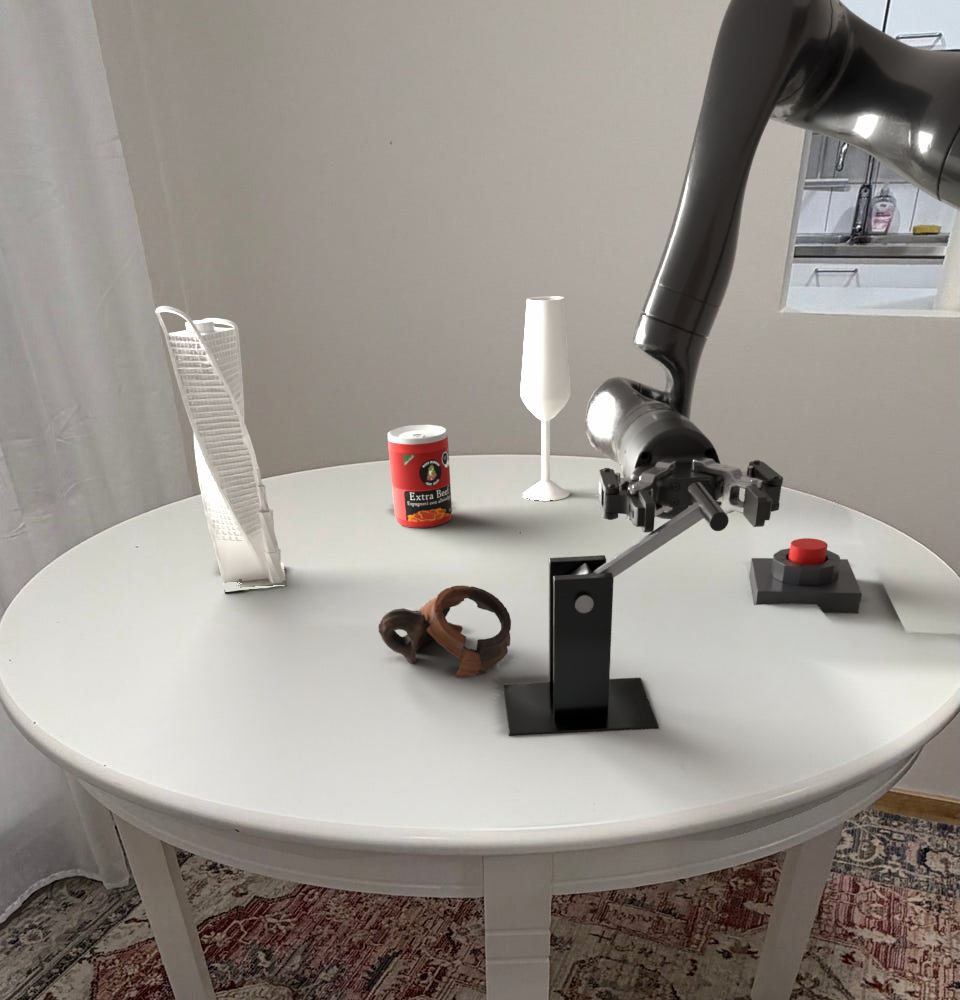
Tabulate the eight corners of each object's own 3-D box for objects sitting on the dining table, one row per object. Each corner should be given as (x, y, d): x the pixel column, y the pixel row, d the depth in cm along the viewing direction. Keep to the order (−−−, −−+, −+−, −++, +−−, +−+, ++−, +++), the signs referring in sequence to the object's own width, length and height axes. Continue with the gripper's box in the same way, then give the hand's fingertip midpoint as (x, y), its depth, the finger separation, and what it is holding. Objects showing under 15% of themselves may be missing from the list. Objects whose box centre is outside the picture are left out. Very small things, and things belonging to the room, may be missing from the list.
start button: (822, 555, 99) (825, 538, 98) (826, 567, 96) (829, 549, 95) (786, 554, 99) (789, 537, 98) (789, 566, 96) (792, 549, 95)
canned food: (407, 532, 123) (399, 441, 116) (386, 516, 129) (378, 429, 122) (462, 522, 125) (457, 433, 119) (439, 507, 131) (433, 421, 125)
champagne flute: (512, 495, 134) (507, 300, 120) (545, 485, 138) (544, 294, 124) (546, 503, 130) (546, 302, 116) (579, 493, 134) (583, 296, 120)
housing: (844, 579, 103) (851, 542, 101) (858, 614, 95) (865, 575, 93) (749, 577, 105) (753, 541, 102) (754, 612, 97) (760, 573, 94)
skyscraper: (211, 594, 107) (150, 311, 91) (212, 571, 114) (156, 302, 97) (286, 586, 109) (239, 304, 92) (283, 563, 115) (239, 296, 99)
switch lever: (710, 498, 74) (695, 472, 73) (735, 530, 67) (720, 502, 66) (567, 593, 78) (551, 570, 77) (578, 632, 71) (561, 607, 70)
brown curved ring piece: (481, 639, 95) (509, 579, 88) (498, 715, 91) (529, 658, 84) (364, 628, 91) (384, 564, 84) (376, 707, 86) (398, 646, 80)
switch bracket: (639, 689, 84) (648, 544, 76) (658, 739, 76) (669, 584, 69) (503, 696, 84) (499, 551, 76) (509, 746, 76) (504, 592, 69)
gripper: (587, 421, 83) (613, 469, 69) (751, 412, 83) (808, 459, 69) (585, 509, 87) (609, 570, 74) (741, 501, 87) (793, 561, 74)
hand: (705, 516), depth 72 cm, fingers open, 8 cm apart
